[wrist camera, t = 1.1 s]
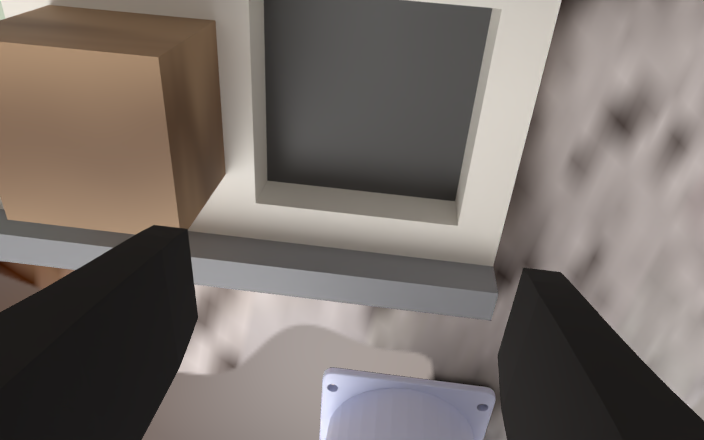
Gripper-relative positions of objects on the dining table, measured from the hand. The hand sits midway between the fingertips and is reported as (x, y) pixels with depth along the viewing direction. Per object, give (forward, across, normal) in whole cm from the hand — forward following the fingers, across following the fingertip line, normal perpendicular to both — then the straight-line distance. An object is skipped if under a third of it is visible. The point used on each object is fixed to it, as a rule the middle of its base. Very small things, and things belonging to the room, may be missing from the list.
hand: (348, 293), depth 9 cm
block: (+8, +8, 0) cm, 11 cm away
